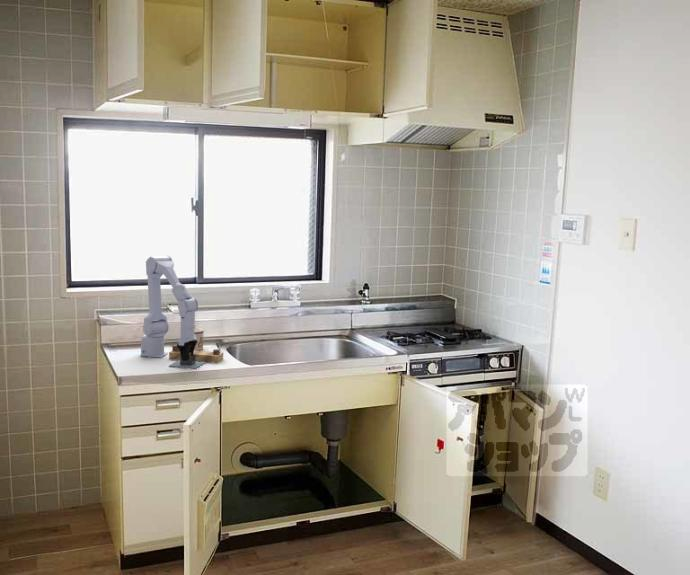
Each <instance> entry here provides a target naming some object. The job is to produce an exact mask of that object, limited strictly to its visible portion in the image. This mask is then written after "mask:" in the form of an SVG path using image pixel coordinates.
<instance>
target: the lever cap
mask: <svg viewBox="0 0 690 575" xmlns="http://www.w3.org/2000/svg"><path fill="white" fill-rule="evenodd" d="M193 364H195V354H191V353H190V352H189V354H188V360H187V361H182V358H181V355H180V365H190V366H192V365H193Z"/></svg>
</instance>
